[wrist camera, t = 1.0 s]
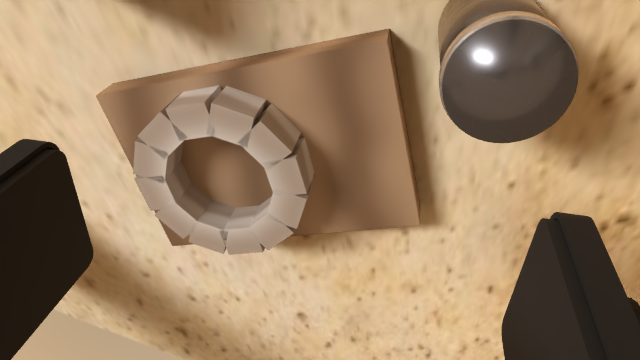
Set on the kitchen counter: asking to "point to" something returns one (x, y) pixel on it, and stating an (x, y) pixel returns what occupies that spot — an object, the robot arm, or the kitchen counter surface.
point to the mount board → (324, 113)
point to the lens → (504, 69)
